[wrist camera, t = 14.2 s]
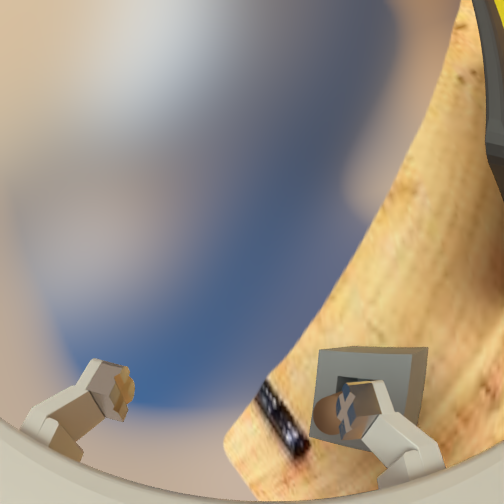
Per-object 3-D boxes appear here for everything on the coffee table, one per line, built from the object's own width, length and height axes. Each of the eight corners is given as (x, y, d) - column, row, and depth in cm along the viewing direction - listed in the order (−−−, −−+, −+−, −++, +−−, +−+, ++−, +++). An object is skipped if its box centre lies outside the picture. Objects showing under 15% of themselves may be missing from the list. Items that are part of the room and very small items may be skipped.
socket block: (428, 347, 25) (412, 354, 20) (416, 429, 22) (394, 455, 17) (353, 346, 32) (319, 349, 27) (344, 418, 30) (308, 436, 25)
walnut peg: (392, 378, 25) (352, 399, 18) (388, 408, 24) (346, 438, 17) (364, 376, 27) (315, 393, 21) (360, 405, 26) (310, 430, 20)
